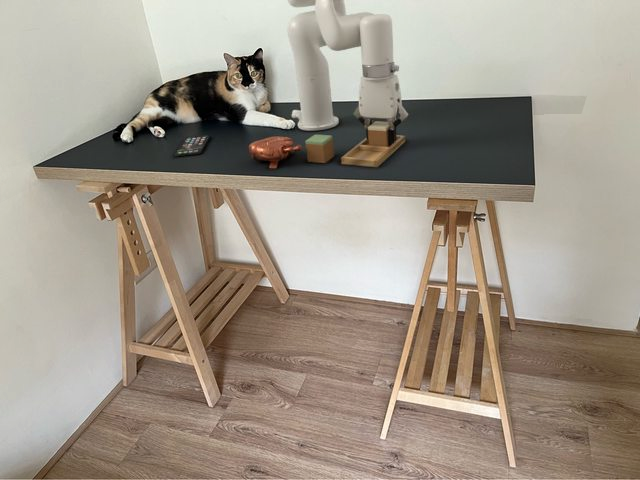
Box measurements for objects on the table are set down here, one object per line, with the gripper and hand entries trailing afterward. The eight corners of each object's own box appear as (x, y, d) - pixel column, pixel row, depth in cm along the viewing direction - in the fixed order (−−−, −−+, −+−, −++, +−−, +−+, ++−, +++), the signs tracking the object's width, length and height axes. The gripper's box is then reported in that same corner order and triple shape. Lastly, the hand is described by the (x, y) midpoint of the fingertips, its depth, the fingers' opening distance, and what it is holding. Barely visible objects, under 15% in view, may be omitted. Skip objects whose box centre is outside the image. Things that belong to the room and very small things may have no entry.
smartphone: (174, 154, 138) (185, 137, 151) (174, 157, 138) (186, 139, 151) (200, 152, 138) (209, 134, 151) (200, 154, 138) (210, 137, 151)
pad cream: (368, 147, 128) (367, 127, 125) (376, 141, 131) (375, 121, 129) (386, 149, 125) (386, 128, 123) (394, 142, 129) (393, 122, 126)
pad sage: (307, 161, 125) (305, 140, 122) (317, 154, 128) (315, 134, 125) (325, 163, 122) (322, 142, 119) (334, 156, 126) (332, 135, 123)
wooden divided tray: (341, 163, 121) (340, 157, 120) (371, 139, 134) (371, 133, 134) (377, 167, 116) (377, 161, 116) (405, 141, 130) (405, 135, 129)
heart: (238, 145, 122) (296, 145, 118) (255, 133, 132) (309, 133, 129) (241, 168, 124) (298, 169, 121) (258, 154, 135) (311, 155, 131)
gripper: (417, 67, 118) (417, 140, 127) (353, 67, 126) (358, 136, 135) (406, 74, 112) (407, 150, 121) (339, 74, 120) (345, 145, 129)
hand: (381, 142), depth 128 cm, fingers closed on pad cream, 5 cm apart
